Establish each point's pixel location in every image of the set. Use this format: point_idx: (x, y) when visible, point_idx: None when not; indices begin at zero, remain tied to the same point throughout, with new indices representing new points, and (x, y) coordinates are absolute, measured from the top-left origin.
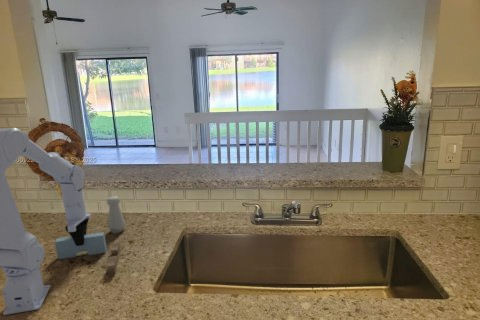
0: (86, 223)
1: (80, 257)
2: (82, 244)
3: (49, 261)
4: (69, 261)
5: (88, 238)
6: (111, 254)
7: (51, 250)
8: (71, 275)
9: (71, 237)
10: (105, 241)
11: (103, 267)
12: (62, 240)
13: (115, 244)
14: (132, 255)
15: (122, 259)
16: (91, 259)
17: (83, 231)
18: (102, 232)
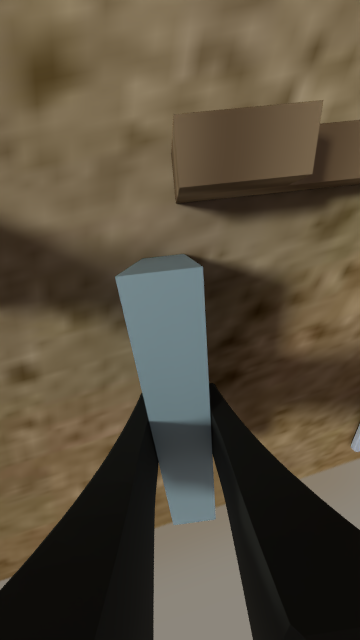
0: (114, 565)
1: None
2: (216, 389)
3: None
4: (225, 386)
5: (206, 382)
6: (289, 183)
7: None
8: (334, 347)
9: (179, 478)
10: (139, 263)
11: (338, 225)
12: (209, 500)
13: (220, 149)
14: (273, 15)
15: None
16: (236, 308)
17: (319, 498)
18: (122, 294)
